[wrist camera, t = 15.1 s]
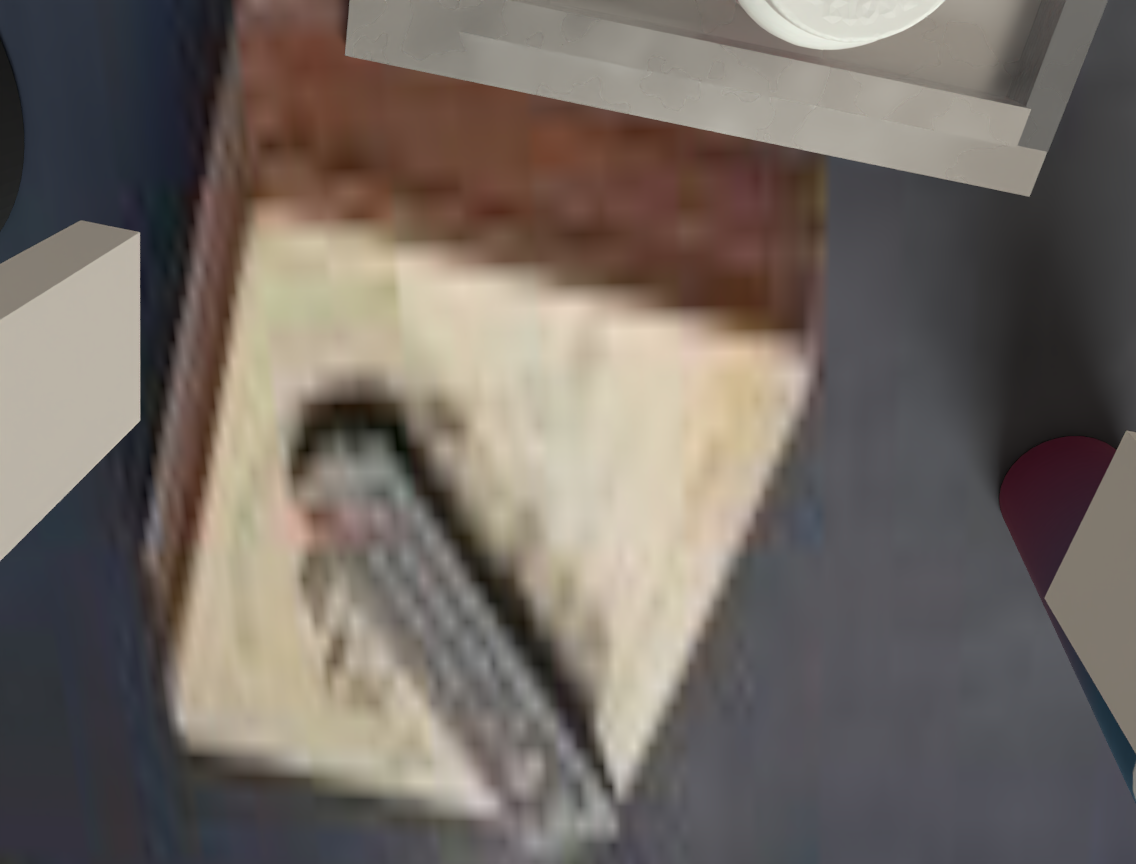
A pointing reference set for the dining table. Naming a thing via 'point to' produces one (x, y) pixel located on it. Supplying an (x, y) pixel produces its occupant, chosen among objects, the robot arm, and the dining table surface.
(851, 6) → the pill bottle
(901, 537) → the dining table surface
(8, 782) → the dining table surface
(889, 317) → the dining table surface
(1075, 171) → the dining table surface
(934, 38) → the white shallow tray
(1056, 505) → the cup
